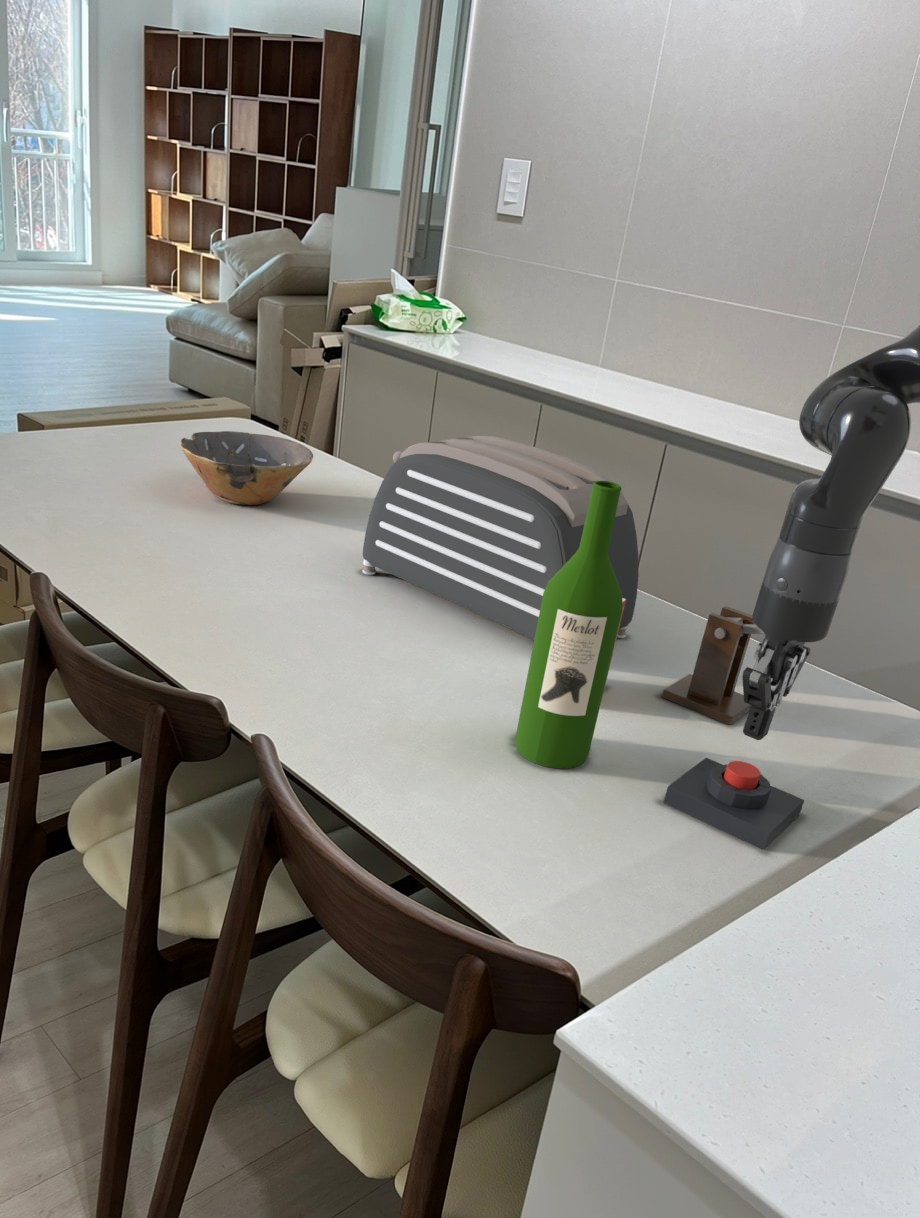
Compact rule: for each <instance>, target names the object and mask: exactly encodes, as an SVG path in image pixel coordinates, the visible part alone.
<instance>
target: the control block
mask: <svg viewBox="0 0 920 1218" xmlns="http://www.w3.org/2000/svg"><path fill="white" fill-rule="evenodd" d="M727 765H728V763H727V764H723V763H720V762H718V761H716V760H713V759H711V758H709V757H705V758H703V759H702V760H701V761H699V762H698V763H696V764H695V765H694V766H693V767H692V768H690V769H689V770H688V771H686V772H685V773H683V775H681V776H680V777H678V778H677V779H675V780H674V781H673V782H672V783H671V784H669V785H668V786H667V788H666V792H665V795H664V799H663V803H664V804H666V805H667V806H669V807H672V808H674V809H676V810H678V811H680V812H683V813H685V814H687V815H689V816H690V817H692V818H695V819H697V820H699V821H702V822H704V823H706V824H708V825H710V826H712V827H714V828H717V829H719V830H721V831H723V832H725V833H727V834H729V835H732V836H733V837H736V838H737V839H740V840H743V841H745V842H746V843H748V844H751V845H753V846H755V847H757V848H759V849H762V850H766V849H767V848H768V847H769V846H770V845H771V844H772V843H773V842H774V841H776V839H777V838H778V837H779V836H781V835H782V833H783V832H784V831H786V829H787V828H788V827H790V825H792V823H793V822H795V820H797V818H799V817H800V814H801V811H802V808H803V806H804V804H805V799H803V798H801V797H799V796H796V795H794V794H791V793H789V792H787V791H784V790H782V789H780V788H778V787H776V786H773V785H771V782H770V780H769V779H768V778H766V777H765V776H764V775H763V774H762V773H761V774H760V777H759V780H758V784H757V787H756V788H755V789H753V790H745V789H740V788H737V787H734V786H732V785H730V784H728V783H727V782H726V781H724V774H725V771H726V768H727Z"/></svg>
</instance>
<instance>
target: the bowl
mask: <svg viewBox="0 0 920 1218" xmlns="http://www.w3.org/2000/svg"><path fill="white" fill-rule="evenodd" d="M179 447H180V449H181V452H183V454H184V456H185V457H186V459H187V460H188V461H189V463H190V465H191V466H192V468H193V469H194V470H195V472H196V474H197V475H198V476H199V477H200V479H201V480H202V481H203V483H204V484H205V486H206V488H207V489H208V490H209V491H210V492H211V493H212V495H213V496H215V497H216V498H217V499H219V500H221V501H222V502H225V503H228V504H229V503H230V504H233V505H241V506H246V505H248V506H258V505H262V504H265V503H267V502H268V501H271V500H273V499H274V498H276V497H277V496H279V494H281V493H282V492H283V490H285V488H287V486H289V485H290V484H291V483H292V482H293V481H294V480H295V479H296V478H297V477H298V476H299V475H300V474H301V473H302V472H303V471H304V470H305V469H306V468H307V467H308V466H309V465H310V464H311V463H312V462H313V459H314V454H313V452H312V450H311V449H309V448H308V447H307V446H306V445H304V444H302V443H299V442H298V441H293V440H291V439H288V438H283V437H279V436H273V435H269V434H260V433H250V432H245V431H235V430H232V431H231V430H229V431H228V430H223V431H221V430H219V431H199V432H194V433H192V434H191V435H190V438H186V437H182V438H181V439H180V441H179Z"/></svg>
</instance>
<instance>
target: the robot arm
mask: <svg viewBox="0 0 920 1218" xmlns="http://www.w3.org/2000/svg"><path fill="white" fill-rule="evenodd" d="M911 404H920V324H919V325H918V326H917V327H915V328H914V329H913V330H911V331H910V332H908V334H906V336H904V337H902V338H901V339H898V340H897V341H895V342H893V343H890V344H888V345H886V346H883V347H881V348H879V349H876V350H875V351H873V352H871V353H868V354H867V355H865V356H863V357H861V358H858V359H856V360H855V361H853V362H851V363H849V364H847V365H845V366H844V367H842V368H840V369H838V370H837V371H835V372H834V373H832V374H830V375H829V376H827V377H826V378H824V380H823V381H822V382H820V383H819V384H818V385H817V386H816V387H815V388H814V389H813V390H812V391H811V393H810V394H809V395H808V397H807V398H806V400H805V402H804V403H803V405H802V408H801V410H800V414H799V421H798V423H799V425H798V426H799V430H800V433H801V436H802V437H803V439H804V440H805V441H806V442H807V443H808V444H809V445H810V446H811V447H813V448H815V449H817V450H819V451H821V452H823V453H825V454H827V455H830V456H831V457H830V460H829V462H828V465H827V467H826V468H825V470H824V472H823V474H822V475H821V477H820V478H809V479H806V480H803V481H801V482H800V483H799V484H797V485H796V487H795V488H794V489H793V491H792V494H791V496H790V499H789V501H788V504H787V508H786V512H785V515H784V517H783V521H782V525H781V528H780V531H779V535H778V538H777V540H776V542H775V545H774V547H773V549H772V551H771V553H770V557H769V558H768V562H767V565H766V569H765V572H764V576H763V579H762V582H761V586H760V589H759V592H758V596H757V600H756V602H755V607H754V608H753V612H752V614H751V615H752V619H753V622H754V625H756V626H757V627H758V628H760V629H762V630H763V632H764V633H765V634H764V638H763V640H762V642H759V643H758V644H757V646H756V649H755V652H754V655H753V657H754V660H755V662H754V664H753V668H751V667H749V666H746V667H745V669H743V671H742V676H741V678H742V693H743V695H744V702H745V703H747V704H750V705H751V706H750V709H749V712H747V716H746V719H745V722H744V726H743V728H742V734H743V735H745V736H747V737H748V738H751V739H754V740H756V741H761V740H762V739H764V738H765V737H766V736H767V735H768V734H769V731H770V727H771V724H772V721H773V718H774V715H775V713H776V709H777V708H778V707H779V706H780V705H781V704H782V702H783V697H784V698H786V697H787V696H788V695H789V694H790V691H791V689H792V687H793V685H794V683H795V681H796V679H797V678H798V676H799V674H800V672H801V670H802V668H803V666H804V664H805V662H806V660H807V659H808V657H809V656H810V654H811V648H810V647H807V646H805V644H806V643H816V642H821V641H822V640H824V639H825V638H826V637H827V636H828V634H829V631H830V628H831V626H832V622H833V619H834V616H835V613H836V610H837V607H838V604H839V602H840V598H841V596H842V592H843V589H844V586H845V584H846V581H847V577H848V575H849V570H850V564H851V560H852V559H851V558H852V555H853V551H854V548H855V546H856V544H857V539H858V537H859V533H860V532H861V528H862V525H863V523H864V522H863V521H864V517H865V515H866V512H867V511H868V509H869V508H870V507H871V505H872V503H873V502H874V500H876V498H877V496H878V495H879V493H880V492H881V491H882V489H883V487H884V485H885V484H886V482H887V481H888V480H889V478H890V476H891V474H892V473H893V471H894V470H895V468H896V466H897V465H898V463H899V462H900V459H901V458H902V456H903V455H904V453H905V450H906V449H907V445H908V443H909V440H910V436H911V431H912V415H911V411H910V408H909V405H911Z"/></svg>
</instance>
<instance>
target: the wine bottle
mask: <svg viewBox="0 0 920 1218" xmlns="http://www.w3.org/2000/svg"><path fill="white" fill-rule="evenodd" d="M620 491H621V492H622V486H621V485H620V484H619V483H616V482H614V481H612V482H609V481H596V482H594V483H593V489H592V493H591V498H590V502H589V507H588V511H587V515H586V520H585V524H584V529H583V533H582V538H581V542H580V547H579V549H578V550H577V552H576V553H575V554H574V555H573V556H572V557H571V558H570V560H569V561H568V562H567V563H566V564H565V565H564V566H563V567H562V568H561V569H560V570H559V571H558V572H557V573H556V574H555V575H554V576H553V577H552V578H551V579H550V580H549V582H548V584H547V586H546V588H545V591H544V593H543V598H542V603H541V608H540V613H539V618H538V623H537V629H536V634H535V639H533V645H532V650H531V655H530V660H529V666H528V670H527V676H526V679H525V680H526V681H525V687H524V692H523V696H522V701H521V706H520V707H521V708H520V712H519V715H518V716H519V717H518V723H517V727H516V732H515V737H514V745H515V749H516V751H517V752H518V753H519V754H520V755H521V756H522V757H523V758H524V759H526V760H528V761H530V762H532V763H534V764H536V765H539V766H542V767H546V768H551V769H572V768H576V767H579V766H581V765H582V764H584V763H585V762H586V760H587V759H588V757H589V755H590V751H591V746H592V743H593V738H594V734H595V729H596V726H597V721H598V717H599V712H600V708H601V703H602V699H603V695H604V692H605V687H606V685H605V683H606V684H607V681H606V679H607V680H608V676H607V674H608V675H609V672H608V670H609V671H610V668H609V666H610V667H611V664H610V661H611V662H612V660H611V657H612V658H613V656H612V653H613V654H614V651H613V649H614V650H615V647H614V644H615V645H616V643H615V640H616V641H617V639H616V636H617V631H618V627H619V623H620V619H621V614H622V610H623V600H622V591H621V589H620V586H619V583H618V581H617V578H616V576H615V573H614V570H613V568H612V565H611V563H610V560H609V556H608V550H609V545H610V540H611V535H612V530H613V525H614V520H615V516H616V511H617V506H618V501H619V496H620Z"/></svg>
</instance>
